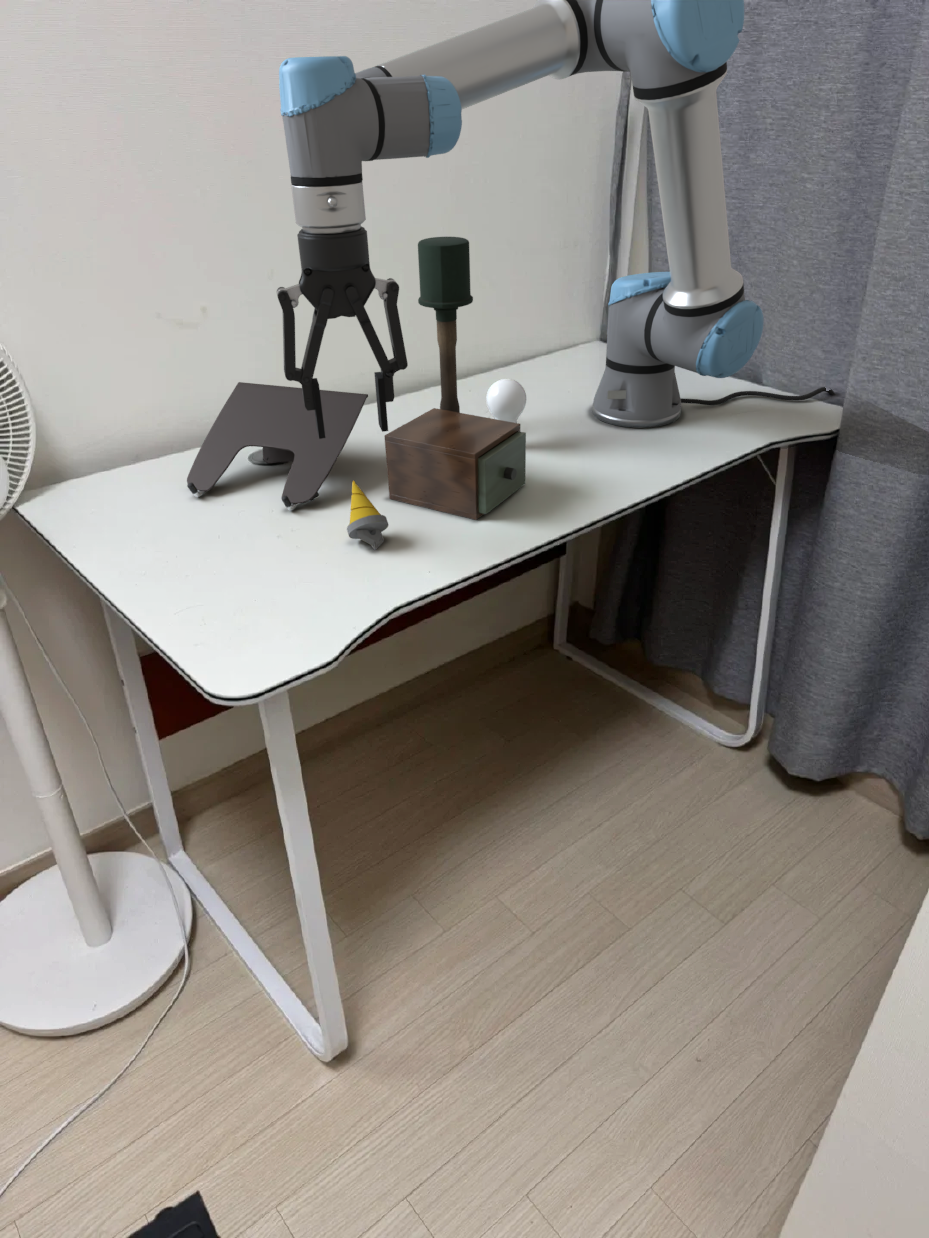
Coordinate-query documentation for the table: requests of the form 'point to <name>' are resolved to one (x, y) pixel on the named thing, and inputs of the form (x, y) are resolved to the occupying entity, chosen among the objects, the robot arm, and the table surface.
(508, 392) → the lightbulb
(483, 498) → the drawer
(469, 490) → the cabinet
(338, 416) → the laptop tray
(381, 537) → the drill bit
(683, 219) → the robot arm
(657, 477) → the table surface
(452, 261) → the stick grenade
